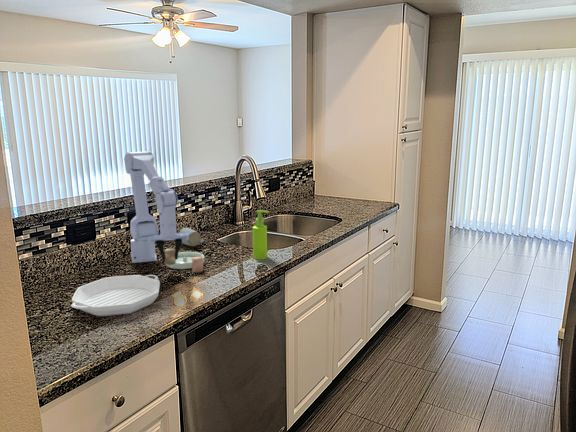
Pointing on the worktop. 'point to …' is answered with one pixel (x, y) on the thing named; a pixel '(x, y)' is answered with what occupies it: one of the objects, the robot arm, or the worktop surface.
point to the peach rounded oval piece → (197, 264)
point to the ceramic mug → (191, 237)
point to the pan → (116, 295)
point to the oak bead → (169, 256)
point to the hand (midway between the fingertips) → (170, 259)
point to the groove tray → (185, 260)
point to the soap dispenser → (260, 237)
